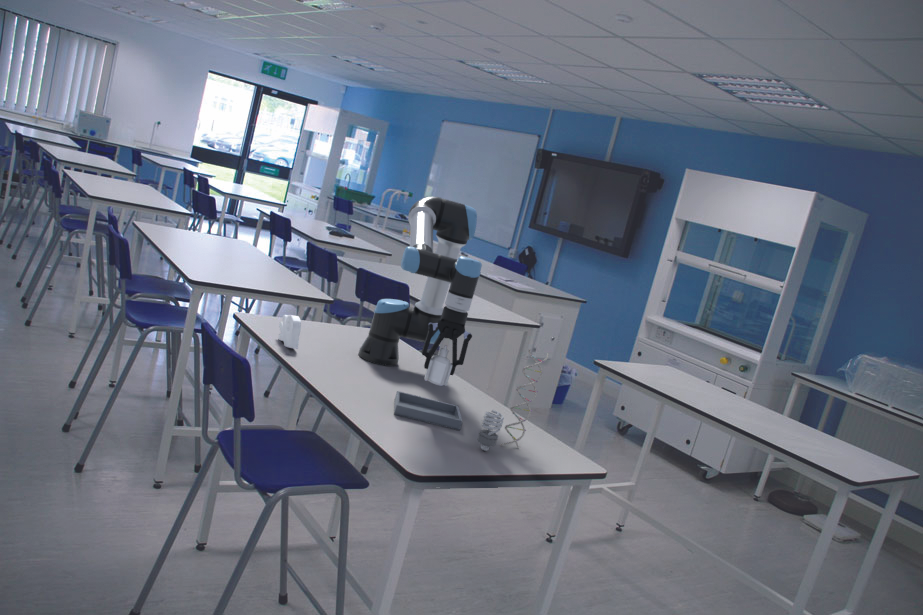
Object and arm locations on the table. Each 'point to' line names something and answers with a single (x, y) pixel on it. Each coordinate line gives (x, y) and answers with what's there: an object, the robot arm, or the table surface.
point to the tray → (427, 410)
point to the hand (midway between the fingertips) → (435, 381)
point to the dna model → (524, 399)
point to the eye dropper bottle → (439, 368)
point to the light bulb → (488, 436)
